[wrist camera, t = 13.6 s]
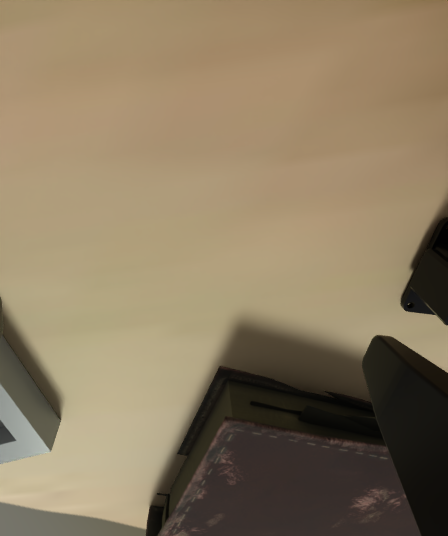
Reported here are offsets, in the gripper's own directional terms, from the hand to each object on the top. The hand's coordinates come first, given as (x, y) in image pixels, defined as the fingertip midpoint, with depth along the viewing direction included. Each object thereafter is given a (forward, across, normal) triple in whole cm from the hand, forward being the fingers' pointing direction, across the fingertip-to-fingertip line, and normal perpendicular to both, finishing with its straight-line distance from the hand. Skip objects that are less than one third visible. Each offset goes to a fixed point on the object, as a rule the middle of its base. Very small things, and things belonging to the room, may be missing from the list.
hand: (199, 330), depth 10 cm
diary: (+14, -15, +24) cm, 31 cm away
